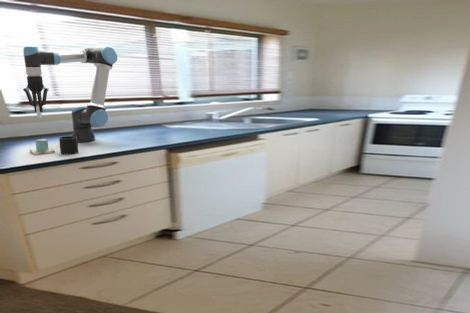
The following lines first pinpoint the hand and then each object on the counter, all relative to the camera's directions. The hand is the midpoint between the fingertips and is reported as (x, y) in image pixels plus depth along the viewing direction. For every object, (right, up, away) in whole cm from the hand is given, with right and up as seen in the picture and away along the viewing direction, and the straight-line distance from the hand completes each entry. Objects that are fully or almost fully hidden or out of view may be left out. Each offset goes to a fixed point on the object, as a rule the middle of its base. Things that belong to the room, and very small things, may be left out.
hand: (39, 117), depth 205 cm
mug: (+15, -20, +4) cm, 25 cm away
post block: (0, -20, +4) cm, 20 cm away
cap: (0, -18, +4) cm, 19 cm away
